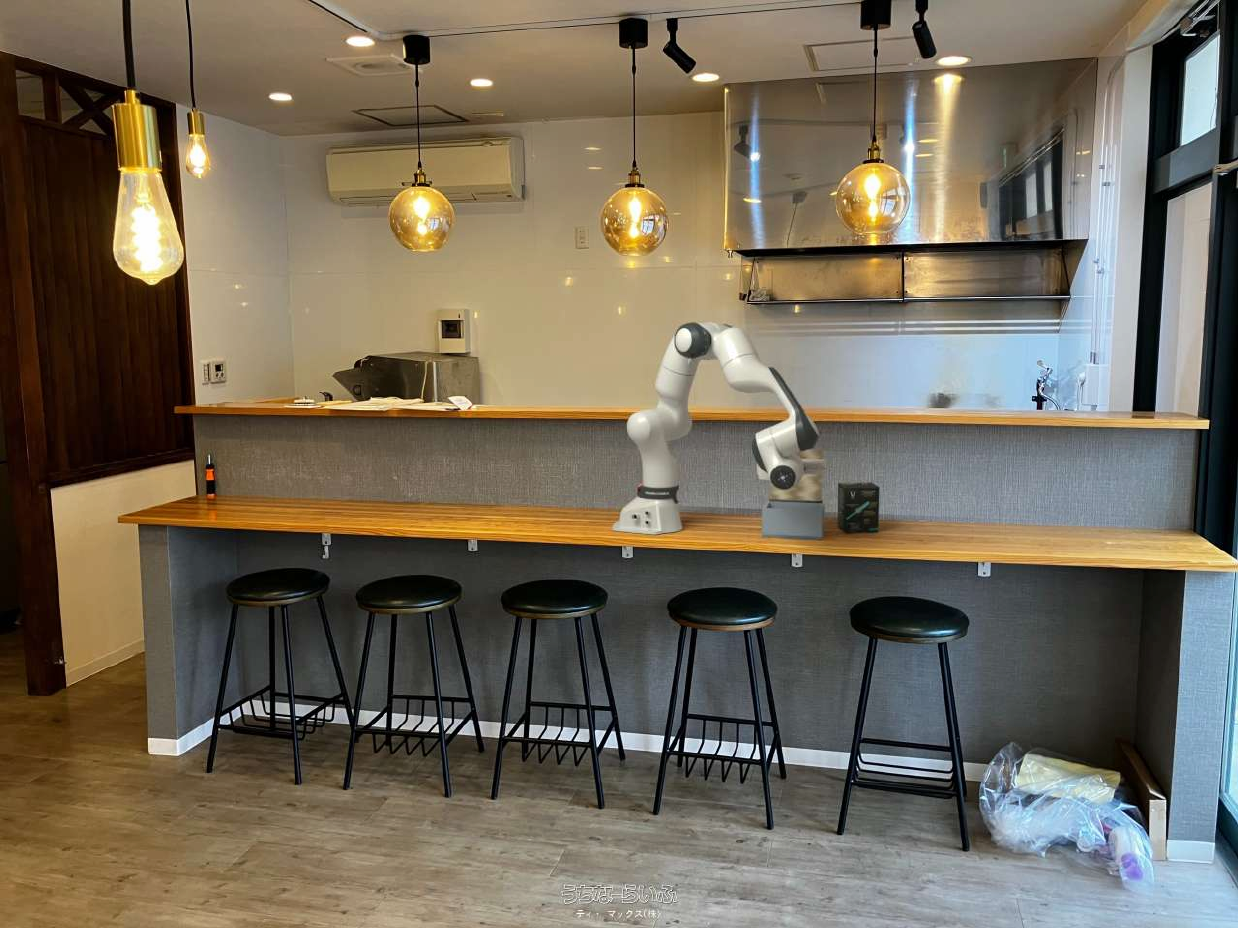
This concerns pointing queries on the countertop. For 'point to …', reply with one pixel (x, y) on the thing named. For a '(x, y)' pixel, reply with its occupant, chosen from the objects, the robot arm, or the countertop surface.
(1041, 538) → the countertop surface
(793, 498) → the lid flap
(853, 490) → the tampon box
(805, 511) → the crate
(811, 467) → the robot arm
